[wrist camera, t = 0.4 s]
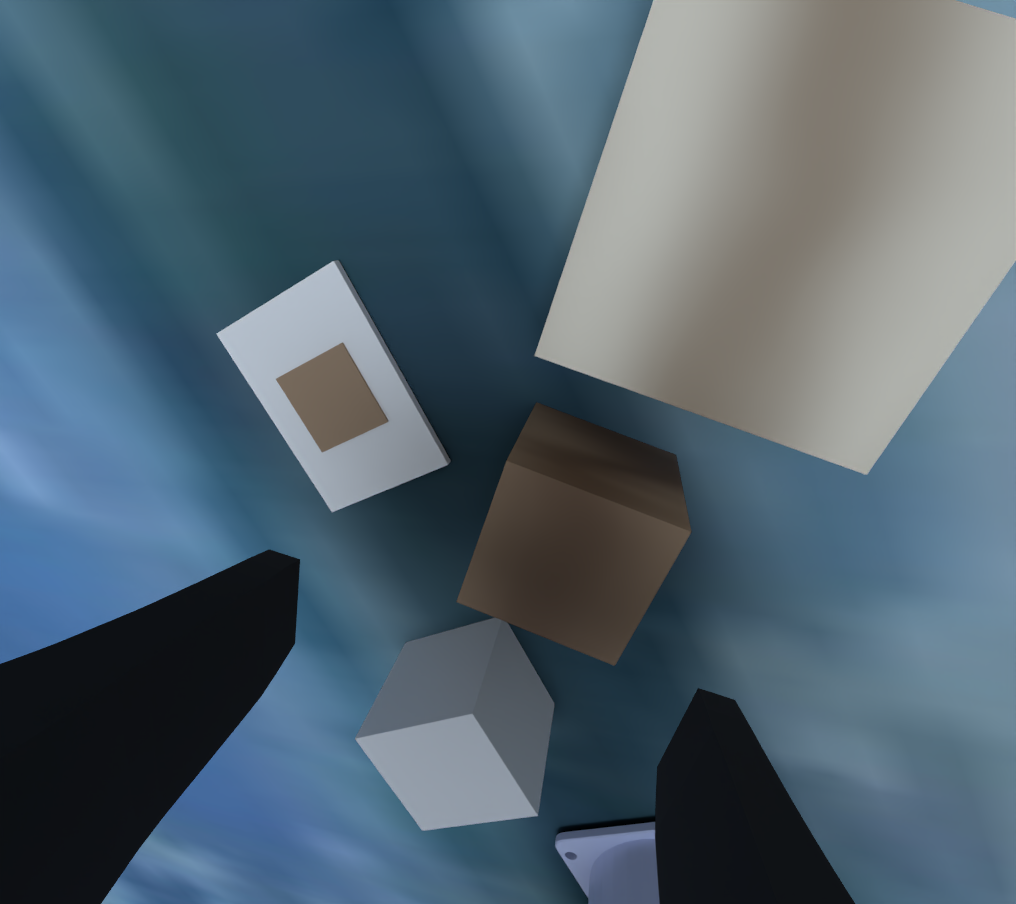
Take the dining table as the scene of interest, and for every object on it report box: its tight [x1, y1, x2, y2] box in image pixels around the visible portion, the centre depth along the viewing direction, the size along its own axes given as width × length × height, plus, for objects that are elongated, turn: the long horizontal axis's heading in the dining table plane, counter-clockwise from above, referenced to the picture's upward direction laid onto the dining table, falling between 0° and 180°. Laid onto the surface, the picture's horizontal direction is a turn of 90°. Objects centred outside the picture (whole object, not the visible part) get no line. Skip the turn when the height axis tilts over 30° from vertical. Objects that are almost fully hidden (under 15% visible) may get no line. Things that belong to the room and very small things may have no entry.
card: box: [217, 260, 451, 512], centre depth 17 cm, size 7×5×1 cm
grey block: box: [355, 618, 554, 831], centre depth 19 cm, size 4×4×4 cm
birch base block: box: [535, 0, 1016, 475], centre depth 12 cm, size 8×8×4 cm
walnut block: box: [457, 402, 691, 666], centre depth 15 cm, size 4×4×4 cm
